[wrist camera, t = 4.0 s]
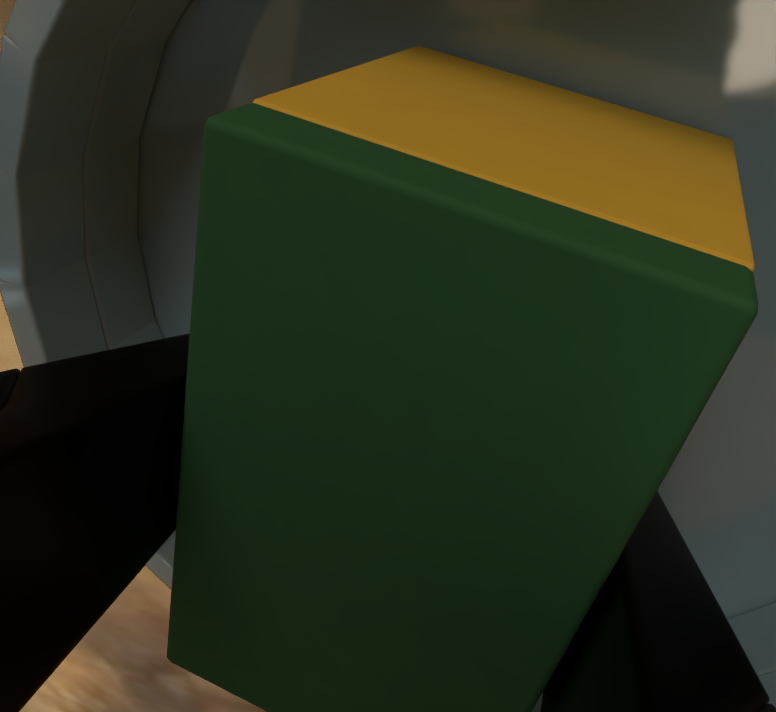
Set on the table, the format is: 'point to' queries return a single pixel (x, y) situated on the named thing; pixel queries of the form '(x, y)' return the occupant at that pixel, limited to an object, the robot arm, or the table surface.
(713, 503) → the bowl
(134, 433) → the robot arm
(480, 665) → the sponge
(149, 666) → the table surface
